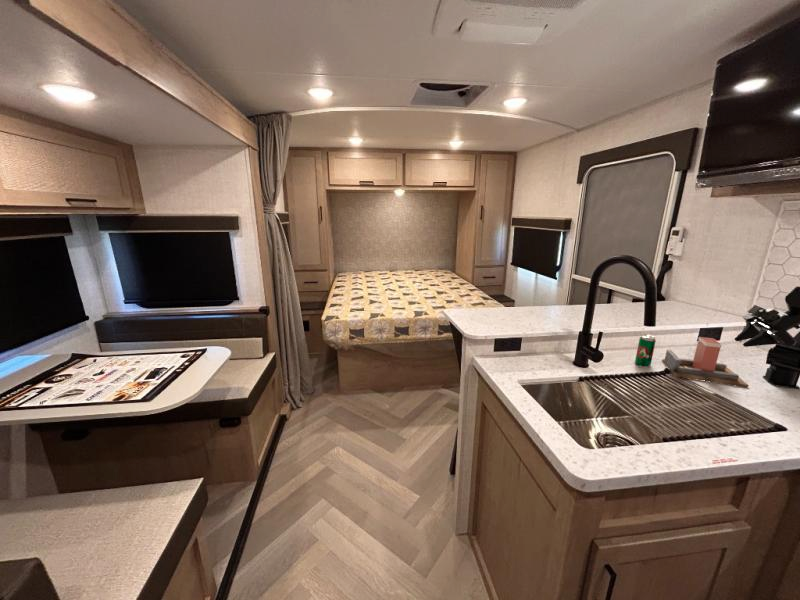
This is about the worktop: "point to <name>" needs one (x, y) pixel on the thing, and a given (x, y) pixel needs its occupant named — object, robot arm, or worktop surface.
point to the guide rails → (675, 367)
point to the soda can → (645, 350)
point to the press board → (723, 381)
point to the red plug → (706, 354)
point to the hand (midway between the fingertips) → (739, 342)
